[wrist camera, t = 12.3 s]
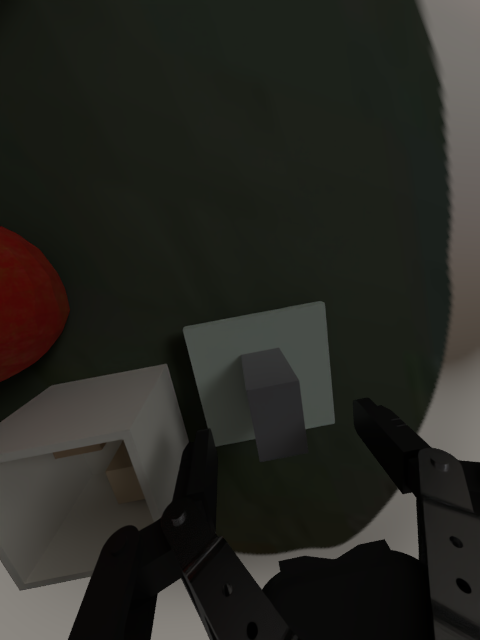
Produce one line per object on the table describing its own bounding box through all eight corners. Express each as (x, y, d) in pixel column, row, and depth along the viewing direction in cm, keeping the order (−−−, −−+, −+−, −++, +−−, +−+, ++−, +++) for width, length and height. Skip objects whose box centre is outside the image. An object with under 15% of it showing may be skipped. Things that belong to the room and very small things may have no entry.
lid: (187, 321, 19) (165, 357, 12) (313, 298, 19) (364, 319, 12) (214, 428, 22) (208, 508, 15) (323, 406, 22) (370, 476, 15)
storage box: (51, 385, 20) (-61, 465, 12) (167, 363, 20) (129, 429, 12) (91, 476, 22) (19, 590, 15) (193, 456, 22) (176, 559, 15)
